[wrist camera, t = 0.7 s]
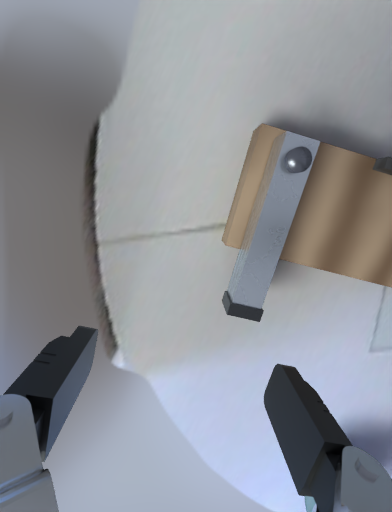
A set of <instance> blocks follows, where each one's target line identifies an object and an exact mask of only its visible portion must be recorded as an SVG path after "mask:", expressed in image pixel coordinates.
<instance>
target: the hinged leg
mask: <svg viewBox="0 0 392 512" xmlns="http://www.w3.org/2000/svg"><path fill="white" fill-rule="evenodd" d="M319 144H320V141H318V140H315V139H312V138H308V137H305V136H302V135H299V134H296V133H292V132H289V131H286V132H285V133H283V134H281V135H280V136H278V137H276V138H275V139H274V142H273V145H272V148H271V151H270V154H269V158H268V161H267V164H266V167H265V170H264V174H263V177H262V180H261V183H260V186H259V190H258V193H257V196H256V199H255V203H254V206H253V209H252V212H251V215H250V219H249V222H248V225H247V228H246V231H245V235H244V238H243V241H242V244H241V247H240V251H239V254H238V257H237V260H236V263H235V267H234V270H233V273H232V276H231V279H230V283H229V286H228V289H227V291H225V293H224V296H223V299H222V302H223V305H224V308H225V311H226V314H227V315H231V316H236V317H240V318H245V319H249V320H254V321H258V322H260V320H261V317H262V314H263V309H262V305H263V303H264V300H265V297H266V294H267V291H268V288H269V286H270V283H271V280H272V277H273V274H274V272H275V269H276V266H277V263H278V260H279V257H280V255H281V252H282V249H283V246H284V243H285V240H286V238H287V235H288V232H289V229H290V226H291V223H292V221H293V218H294V215H295V212H296V209H297V206H298V204H299V201H300V198H301V195H302V192H303V189H304V187H305V184H306V181H307V178H308V175H309V173H310V170H311V167H312V164H313V161H314V158H315V156H316V153H317V150H318V147H319Z"/></svg>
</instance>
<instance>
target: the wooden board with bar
mask: <svg viewBox="0 0 392 512" xmlns="http://www.w3.org/2000/svg"><path fill="white" fill-rule="evenodd" d="M285 132H286V131H285V130H282V129H279V128H275V127H272V126H269V125H266V124H263V123H262V124H261V125H260V126H259V127H258V128H257V129H255V130H254V131H253V135H252V138H251V141H250V145H249V148H248V152H247V155H246V159H245V162H244V165H243V169H242V172H241V176H240V179H239V183H238V186H237V189H236V193H235V196H234V200H233V203H232V207H231V210H230V213H229V217H228V220H227V224H226V227H225V231H224V234H223V237H222V241H223V242H224V244H225V245H226V246H230V247H234V248H238V249H240V247H241V244H242V241H243V238H244V235H245V231H246V228H247V225H248V222H249V219H250V215H251V212H252V209H253V206H254V203H255V199H256V196H257V193H258V190H259V186H260V183H261V180H262V177H263V174H264V170H265V167H266V164H267V161H268V158H269V154H270V151H271V148H272V145H273V142H274V139H275V138H276V137H278V136H280V135H281V134H283V133H285ZM279 259H281V260H285V261H289V262H293V263H297V264H301V265H305V266H309V267H313V268H317V269H321V270H325V271H329V272H333V273H337V274H341V275H345V276H349V277H353V278H356V279H360V280H364V281H368V282H372V283H376V284H380V285H384V286H388V287H392V158H391V157H385V158H380V159H375V158H371V157H368V156H365V155H362V154H359V153H355V152H352V151H349V150H346V149H343V148H339V147H336V146H333V145H330V144H327V143H323V142H320V144H319V147H318V150H317V153H316V156H315V158H314V161H313V164H312V167H311V170H310V173H309V175H308V178H307V181H306V184H305V187H304V189H303V192H302V195H301V198H300V201H299V204H298V206H297V209H296V212H295V215H294V218H293V221H292V223H291V226H290V229H289V232H288V235H287V238H286V240H285V243H284V246H283V249H282V252H281V255H280V257H279Z"/></svg>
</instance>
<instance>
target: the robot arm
mask: <svg viewBox="0 0 392 512" xmlns="http://www.w3.org/2000/svg"><path fill="white" fill-rule="evenodd" d="M97 336H98V329H94V328H89V327H84V326H78V327H77V329H76V330H75V331H74V333H73V334H72V335H71V336H70V337H65V336H60V337H58V338H56V339H54V340H53V341H51V342H49V343H48V344H47V345H46V347H45V348H44V349H43V350H42V351H41V353H40V354H38V356H37V357H36V358H35V359H34V361H33V362H32V363H31V364H30V365H29V366H28V367H27V368H26V369H25V370H24V371H23V373H22V374H21V375H20V376H19V377H18V378H17V379H16V381H15V382H14V383H13V384H12V385H11V386H10V387H9V389H8V390H7V391H6V392H5V393H4V394H3V395H0V512H59V510H58V506H57V501H56V496H55V491H54V487H53V482H52V478H51V474H50V472H49V470H48V469H45V470H44V469H43V465H42V462H45V460H46V458H47V456H48V454H49V452H50V450H51V448H52V446H53V444H54V442H55V440H56V438H57V436H58V434H59V432H60V430H61V429H62V426H63V424H64V423H65V421H66V419H67V417H68V415H69V413H70V411H71V409H72V407H73V405H74V403H75V401H76V399H77V397H78V395H79V393H80V391H81V389H82V387H83V385H84V383H85V381H86V379H87V377H88V375H89V372H90V370H91V366H92V363H93V358H94V352H95V347H96V341H97ZM264 405H265V408H266V411H267V414H268V416H269V419H270V421H271V424H272V427H273V429H274V432H275V434H276V437H277V440H278V442H279V445H280V447H281V450H282V453H283V455H284V458H285V460H286V463H287V466H288V468H289V471H290V473H291V476H292V479H293V481H294V484H295V486H296V489H297V492H298V494H299V495H301V496H309V497H313V498H314V500H315V503H316V504H315V506H314V508H313V510H312V512H392V479H391V478H390V476H389V474H388V473H387V471H386V470H385V469H384V468H383V466H382V465H381V464H380V463H379V462H378V461H377V460H376V459H375V458H373V457H372V456H371V455H370V454H368V453H367V452H365V451H363V450H361V449H359V448H357V447H353V445H352V444H351V442H350V441H349V439H348V438H347V436H346V435H345V434H344V432H343V431H342V429H341V428H340V426H339V425H338V423H337V422H336V420H335V419H334V417H333V416H332V414H331V413H329V410H328V408H327V407H326V405H325V404H323V401H322V399H321V398H320V396H319V395H318V393H317V392H316V391H315V390H314V389H313V388H312V387H311V386H310V385H309V384H308V383H307V382H306V381H304V380H303V378H302V377H301V375H300V374H299V372H298V371H297V369H296V368H295V367H292V366H287V365H281V364H277V365H276V366H275V367H274V369H273V372H272V375H271V377H270V380H269V382H268V385H267V388H266V390H265V394H264Z"/></svg>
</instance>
